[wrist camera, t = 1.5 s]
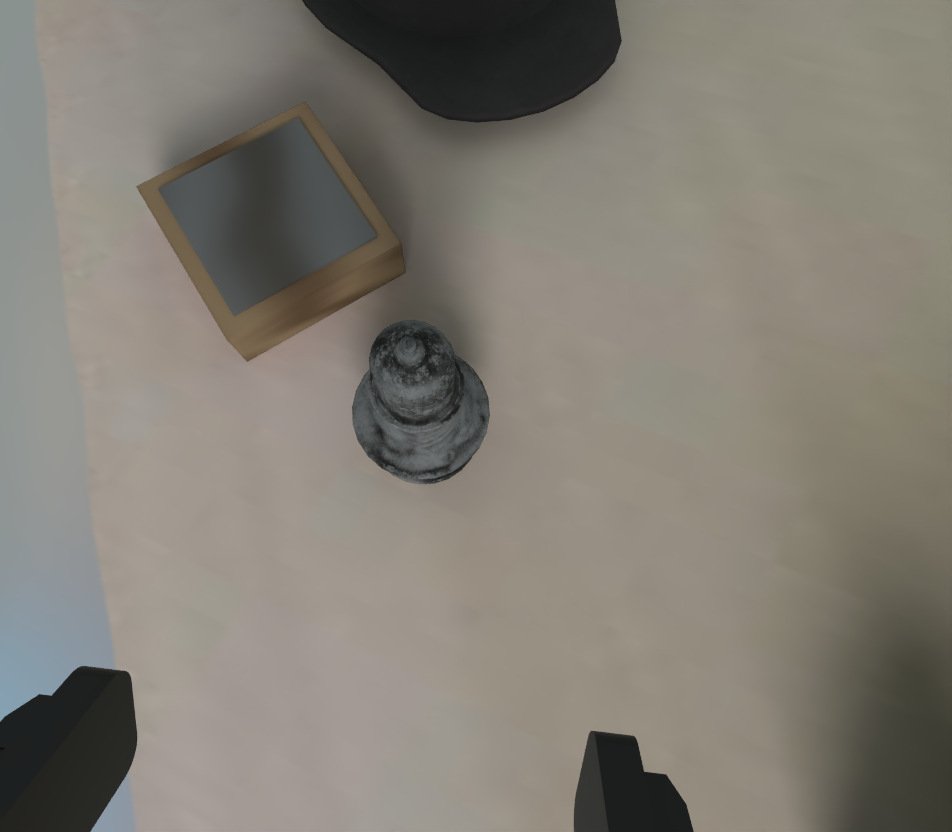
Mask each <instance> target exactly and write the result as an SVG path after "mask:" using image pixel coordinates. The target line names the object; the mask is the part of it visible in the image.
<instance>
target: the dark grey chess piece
mask: <svg viewBox="0 0 952 832" xmlns="http://www.w3.org/2000/svg"><path fill="white" fill-rule="evenodd" d="M369 363H370V370H369V371H368V372H367V373H366V374H365V375H364V377H363V379H362V381H361V383H360V384H359V386H358V388H357V390H356V394H355V398H354V402H353V406H352V412H353V426H354V429H355V433H356V436H357V439H358V442H359V443H360V445H361V446H362V448H363V449H364V451H365V452H366V454H367V455H368V457H369V458H371V459H372V460H373V461H374V462H375V463H376V464H377V465H379V466H380V467H381V468H382V469H384V470H386V471H388V472H390V473H391V474H392V475H394V476H396V477H398V478H400V479H402V480H404V481H406V482H411V483H417V484H431V483H437V482H440V481H443V480H446V479H449V478H450V477H452V476H453V475H455V474H456V473H458V472H459V471H461V470H462V469H463V467H464V466H465V465H466V464H467V463H468V462H469V461H470V459H471V457H472V456H473V455H474V454H475V452H476V451H477V450H478V449H479V447H480V445H481V443H482V441H483V439H484V437H485V435H486V432H487V427H488V422H489V416H490V413H489V401H488V396H487V393H486V391H485V388H484V385H483V383H482V381H481V379H480V378H479V377H478V375H477V374H476V372H475V371H474V370H473V368H472V367H471V366H469V365H468V364H467V363H466V362H464V361H463V360H462V359H461V358H460V357H458V356H456V355H454V352H453V349H452V347H451V344H450V343H449V341H448V340H447V339H446V337H445V336H444V335H443V333H441V332H440V331H439V330H438V329H437V328H435V327H434V326H432V325H429V324H427V323H425V322H421V321H415V320H410V321H401V322H398V323H395V324H392V325H391V326H389V327H387V328H386V329H384V330H383V331H382V332H381V333H380V334H379V335H378V336H377V338H376V340H375V342H374V344H373V345H372V348H371V353H370V357H369Z"/></svg>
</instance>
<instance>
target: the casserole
mask: <svg viewBox="0 0 952 832" xmlns="http://www.w3.org/2000/svg"><path fill="white" fill-rule="evenodd" d="M302 1H303V2H304V4H305V6H306V7H307V8H308V9H309V10H310V11H311V12H312V13H313V14H314V15H315V16H316V17H317V18H318V20H319V21H320V22H321V23H322V24H323V25H324V26H325V27H326V28H327V29H329V30H330V31H331V32H333V33H334V34H336V35H337V36H338V37H340V38H341V39H343V40H344V41H346V42H347V43H348V44H350V45H351V46H353V47H354V48H355V49H357V50H358V51H360V52H361V53H363V54H364V55H366V56H367V57H368V58H370V59H371V60H373V61H374V62H376V63H377V64H378V65H379V66H380V67H381V68H382V69H383V70H384V71H385V72H386V73H387V74H388V75H389V76H390V77H391V78H392V79H393V80H394V81H395V82H396V83H397V84H398V85H399V86H400V87H401V88H402V89H403V90H404V91H405V92H406V93H407V94H408V95H409V96H410V97H411V98H412V99H413V100H414V101H415V102H416V103H417V104H418V105H419V106H420V107H421V108H422V109H424V110H427V111H429V112H432V113H434V114H436V115H439V116H441V117H443V118H446V119H450V120H459V121H469V122H488V121H501V120H511V119H515V118H519V117H523V116H527V115H531V114H535V113H539V112H543V111H546V110H548V109H550V108H552V107H554V106H556V105H559V104H561V103H563V102H565V101H567V100H570V99H572V98H574V97H575V96H577V95H578V94H579V93H581V92H582V91H584V90H585V89H587V88H588V87H589V86H591V85H592V84H594V83H595V82H596V81H598V80H599V79H600V78H601V76H602V75H603V74H604V73H605V72H606V71H607V70H608V69H609V67H610V66H611V65H612V64H613V63H614V61H615V58H616V56H617V53H618V50H619V47H620V44H621V41H622V40H621V34H620V28H619V22H618V16H617V10H616V4H615V0H302Z"/></svg>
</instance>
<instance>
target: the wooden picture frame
mask: <svg viewBox="0 0 952 832" xmlns="http://www.w3.org/2000/svg"><path fill="white" fill-rule="evenodd" d="M136 187H137V189H138V190H139V192H140V194H141V196H142V197H143V199H144V201H145V202H146V204H147V206H148V207H149V209H150V211H151V212H152V214H153V216H154V218H155V219H156V221H157V223H158V224H159V226H160V228H161V229H162V231H163V233H164V234H165V236H166V238H167V240H168V241H169V243H170V245H171V246H172V248H173V250H174V251H175V253H176V255H177V256H178V258H179V260H180V262H181V263H182V265H183V267H184V268H185V270H186V272H187V273H188V275H189V277H190V278H191V280H192V282H193V284H194V285H195V287H196V289H197V290H198V292H199V294H200V295H201V297H202V299H203V300H204V302H205V304H206V306H207V307H208V309H209V311H210V312H211V314H212V316H213V317H214V319H215V321H216V322H217V324H218V326H219V328H220V329H221V331H222V333H223V334H224V336H225V338H226V339H227V341H228V342H229V343H230V344H231V345H232V346H233V347H234V348H235V349H236V350H237V351H238V352H239V353H240V354H241V356H242V357H243V358H244V359H245V360H246V361H249V360H251V359H253V358H254V357H256V356H258V355H260V354H261V353H263V352H265V351H267V350H269V349H270V348H272V347H274V346H276V345H277V344H279V343H281V342H283V341H285V340H286V339H288V338H290V337H292V336H293V335H295V334H297V333H299V332H300V331H302V330H304V329H306V328H308V327H309V326H311V325H313V324H315V323H316V322H318V321H320V320H322V319H324V318H325V317H327V316H329V315H331V314H332V313H334V312H336V311H338V310H339V309H341V308H343V307H345V306H347V305H348V304H350V303H352V302H354V301H355V300H357V299H359V298H361V297H362V296H364V295H366V294H368V293H370V292H371V291H373V290H375V289H377V288H378V287H380V286H382V285H384V284H386V283H387V282H389V281H391V280H393V279H394V278H396V277H398V276H400V275H401V274H403V273H405V267H404V260H403V253H402V247H401V242H400V241H399V239H398V238H397V236H396V235H395V233H394V232H393V231H392V229H391V228H390V226H389V225H388V223H387V222H386V220H385V219H384V217H383V216H382V214H381V213H380V211H379V210H378V208H377V207H376V205H375V204H374V202H373V201H372V199H371V198H370V196H369V195H368V194H367V192H366V191H365V189H364V188H363V186H362V185H361V183H360V182H359V180H358V179H357V177H356V176H355V174H354V173H353V171H352V170H351V168H350V167H349V165H348V164H347V162H346V161H345V159H344V158H343V156H342V155H341V154H340V152H339V151H338V149H337V148H336V146H335V145H334V143H333V142H332V140H331V139H330V137H329V136H328V134H327V133H326V131H325V130H324V128H323V127H322V125H321V124H320V122H319V121H318V119H317V118H316V116H315V115H314V114H313V112H312V111H311V109H310V108H309V106H308V105H307V103H306V102H303V103H301V104H299V105H297V106H295V107H293V108H291V109H289V110H288V111H286V112H284V113H282V114H280V115H278V116H276V117H274V118H272V119H270V120H268V121H266V122H264V123H262V124H260V125H258V126H256V127H254V128H252V129H250V130H248V131H246V132H244V133H242V134H240V135H238V136H236V137H234V138H232V139H230V140H228V141H226V142H224V143H222V144H220V145H218V146H216V147H214V148H212V149H210V150H208V151H206V152H204V153H202V154H200V155H198V156H196V157H194V158H192V159H190V160H188V161H186V162H184V163H182V164H180V165H178V166H176V167H174V168H172V169H170V170H168V171H166V172H164V173H162V174H160V175H158V176H156V177H154V178H152V179H150V180H148V181H146V182H144V183H142V184H140V185H138V186H136Z"/></svg>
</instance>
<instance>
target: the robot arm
mask: <svg viewBox="0 0 952 832" xmlns="http://www.w3.org/2000/svg"><path fill="white" fill-rule="evenodd" d="M136 746H137V729H136V719H135V710H134V700H133V691H132V682H131V677H130V674H129V673H128V672H127V671H120V670H112V669H104V668H96V667H88V666H81V667H79V668H77V669H76V670H75V671H73V672H72V673H71V674H70V676H69V677H68V678H67V679H66V680H65V681H64V682H63V684H62V685H61V686H60V687H59V688H58V689H57V690H56V691H55V693H54V694H53V695H52V696H49V695H40V694H39V695H38V696H36V697H35V698H33V699H31V700H30V701H28V702H27V703H25V704H24V705H22V706H21V707H19V708H18V709H16V710H15V711H13V712H12V713H10V714H8V715H7V716H5V717H4V718H3V719H2V721H1V722H0V832H90V831H91V830H92V828H93V827H94V825H95V823H96V822H97V820H98V819H99V817H100V816H101V814H102V812H103V811H104V809H105V808H106V806H107V805H108V803H109V801H110V800H111V798H112V797H113V795H114V794H115V792H116V791H117V789H118V788H119V786H120V784H121V783H122V781H123V780H124V778H125V776H126V775H127V773H128V771H129V769H130V766H131V764H132V761H133V758H134V755H135V751H136ZM574 832H694V831H693V828H692V824H691V820H690V816H689V813H688V809H687V805H686V803H685V802H684V800H683V799H682V797H681V796H680V794H679V793H678V791H677V790H676V788H675V787H674V786H673V784H672V783H671V781H670V780H669V778H668V777H667V775H665V774H657V773H649V772H644V770H643V765H642V760H641V756H640V751H639V746H638V743H637V740H636V738H635V737H634V736H630V735H622V734H614V733H606V732H598V731H591V732H590V733H589V736H588V740H587V745H586V750H585V754H584V759H583V763H582V768H581V773H580V777H579V782H578V787H577V791H576V797H575V806H574Z"/></svg>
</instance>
